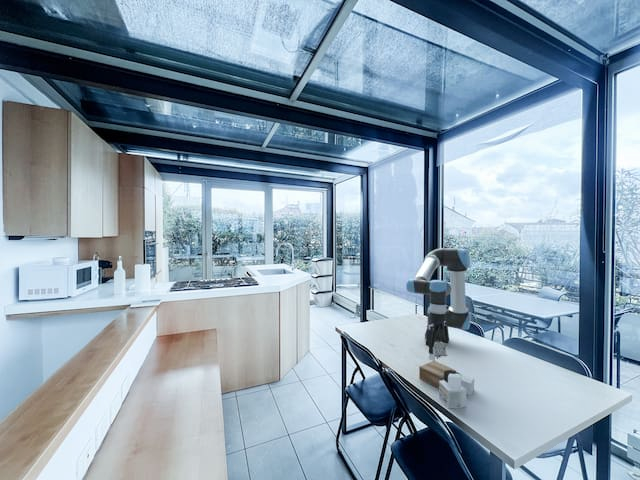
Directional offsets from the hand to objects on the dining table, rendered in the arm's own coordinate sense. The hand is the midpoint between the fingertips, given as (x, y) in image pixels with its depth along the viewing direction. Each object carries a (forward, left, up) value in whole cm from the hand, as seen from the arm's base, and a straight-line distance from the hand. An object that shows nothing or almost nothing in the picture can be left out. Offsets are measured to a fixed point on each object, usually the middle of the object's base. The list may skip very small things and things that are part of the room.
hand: (437, 357), depth 129 cm
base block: (0, 0, -11) cm, 11 cm away
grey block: (-3, +12, -12) cm, 17 cm away
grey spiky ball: (0, 0, -1) cm, 1 cm away
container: (+10, +14, -12) cm, 21 cm away
